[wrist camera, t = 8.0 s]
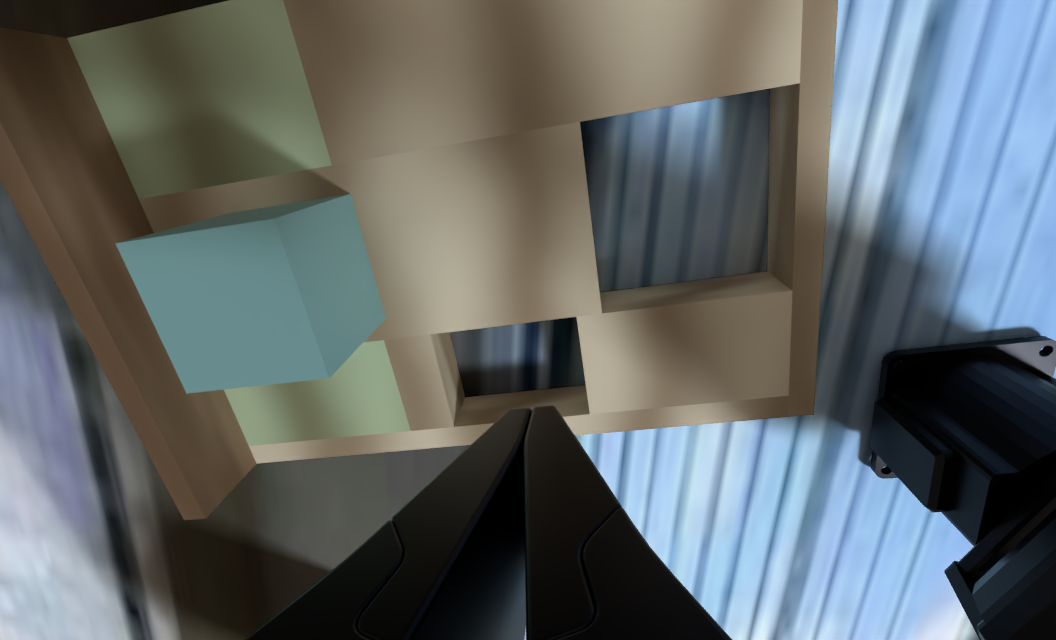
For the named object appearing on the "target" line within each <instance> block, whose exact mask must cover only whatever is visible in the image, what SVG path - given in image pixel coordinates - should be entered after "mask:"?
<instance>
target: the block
mask: <svg viewBox="0 0 1056 640" xmlns="http://www.w3.org/2000/svg"><path fill="white" fill-rule="evenodd" d="M115 244H116V246H117V248H118V250H119V252H120V254H121V256H122V258H123V261H124V263H125V265H126V267H127V269H128V271H129V273H130V275H131V277H132V280H133V282H134V284H135V286H136V288H137V290H138V292H139V294H140V296H141V299H142V301H143V303H144V305H145V307H146V309H147V311H148V313H149V315H150V318H151V320H152V322H153V324H154V326H155V328H156V330H157V332H158V334H159V337H160V339H161V341H162V343H163V345H164V347H165V349H166V351H167V353H168V356H169V358H170V360H171V362H172V364H173V366H174V368H175V370H176V372H177V375H178V377H179V379H180V381H181V383H182V385H183V387H184V389H185V391H186V394H187V393H196V392H206V391H215V390H224V389H234V388H243V387H253V386H262V385H271V384H281V383H290V382H300V381H309V380H318V379H328V378H330V377H331V376H332V375H333V374H334V373H335V372H336V371H337V370H338V369H339V368H340V367H341V365H342V364H343V363H344V362H345V361H346V360H347V359H348V358H349V357H350V356H351V355H352V354H353V353H354V352H355V351H356V350H357V349H358V347H359V346H360V345H361V344H362V343H363V342H364V341H365V340H366V339H367V338H368V337H369V336H370V335H371V334H372V333H373V332H374V330H375V329H376V328H377V327H378V326H379V325H380V324H381V323H382V322H383V321H384V320H385V319H386V317H385V314H384V310H383V307H382V303H381V300H380V296H379V293H378V289H377V286H376V282H375V279H374V275H373V272H372V268H371V265H370V261H369V257H368V254H367V250H366V247H365V243H364V240H363V236H362V233H361V229H360V226H359V222H358V219H357V215H356V212H355V208H354V205H353V201H352V198H351V194H346V195H339V196H333V197H327V198H321V199H315V200H308V201H302V202H296V203H290V204H283V205H277V206H271V207H265V208H258V209H252V210H246V211H240V212H233V213H228V214H224V215H220V216H216V217H213V218H209V219H205V220H201V221H198V222H194V223H190V224H186V225H183V226H179V227H175V228H171V229H168V230H164V231H160V232H156V233H153V234H149V235H145V236H141V237H138V238H134V239H130V240H126V241H123V242H119V243H115Z"/></svg>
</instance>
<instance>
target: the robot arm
mask: <svg viewBox="0 0 1056 640" xmlns="http://www.w3.org/2000/svg"><path fill="white" fill-rule="evenodd" d="M1042 347H1044V348H1043V349H1042V350H1041V351H1040V349H1041V348H1042ZM1039 351H1040V352H1039ZM900 360H901V362H900V364H898V365H897V366H894V364H895V363H896V362H897V361H900ZM1055 367H1056V341H1054V340H1052V339H1050V338H1047V337H1045V336H1036V337H1027V338H1017V339H1007V340H997V341H987V342H978V343H968V344H958V345H948V346H939V347H929V348H919V349H909V350H899V351H893V352H890V353H889V354H887V355H886V356H885V357H884V358H883V361H882V368H881V377H880V385H879V394H878V399H877V400H876V402H875V405H874V414H873V424H872V433H871V442H870V447H871V449H872V456H871V469H872V470H873V471H874V472H875V474H876V475H877V476H878V477H880V478H899V479H900V480H901V481H902V482H903V483H904V484H905V486H906V487H907V488H908V489H909V490H910V491H911V492H912V493H913V494H914V495H915V496H916V498H917V499H918V500H919V501H920V502H921V503H922V504H923V505H924V506H925V507H926V508H927V509H929V510H930V511H931V512H942V513H943V514H944V515H945V516H946V517H947V519H948V520H949V521H950V522H951V523H952V524H953V525H954V526H955V527H956V528H957V529H958V530H959V531H960V532H961V533H962V534H963V535H964V536H965V537H966V539H967V540H968V541H969V542H970V543H971V544H972V545H973V546H974V547H973V548H972V549H971V550H970V551H969V552H968V553H967V554H966V555H965V556H964V557H963V558H962V559H961V560H960V561H959V562H957V561H954V562H953V563H952V564H951V565H950V566H949V567H948V568H947V569H946V570H945V574H946V576H947V578H948V580H949V582H950V583H951V585H952V587H953V589H954V591H955V593H956V595H957V597H958V599H959V601H960V603H961V605H962V607H963V609H964V610H965V612H966V614H967V616H968V618H969V620H970V622H971V624H972V626H973V628H974V630H975V632H976V634H977V635H978V637H979V639H980V640H1056V379H1055V378H1053V375H1054V371H1055ZM884 466H886V467H885V468H883V467H884ZM525 628H526V640H732V639H731V638H730V637H729V636H728V635H727V634H726V632H725V631H724V630H723V629H722V628H721V627H720V626H719V625H718V624H717V622H716V621H715V620H714V619H713V618H712V617H711V616H710V615H709V614H708V612H707V611H706V610H705V609H704V608H703V607H702V606H701V605H700V604H699V602H698V601H697V600H696V599H695V598H694V597H693V596H692V595H691V594H690V592H689V591H688V590H687V589H686V588H685V587H684V586H683V585H682V584H681V583H680V581H679V580H678V579H677V578H676V577H675V576H674V575H673V574H672V572H671V571H670V570H669V569H668V568H667V566H666V565H665V564H664V563H663V562H662V561H661V559H660V558H659V557H658V556H657V555H656V553H655V552H654V551H653V550H652V549H651V547H650V546H649V545H648V543H647V542H646V541H645V539H644V538H643V536H642V535H641V534H640V532H639V531H638V529H637V528H636V527H635V525H634V524H633V522H632V521H631V519H630V518H629V516H628V515H627V513H626V512H625V510H624V509H623V508H622V507H621V505H620V503H619V502H618V500H617V499H616V497H615V496H614V494H613V493H612V491H611V490H610V488H609V486H608V485H607V483H606V482H605V480H604V479H603V477H602V476H601V474H600V473H599V471H598V470H597V468H596V467H595V465H594V464H593V462H592V461H591V459H590V458H589V456H588V455H587V453H586V452H585V450H584V449H583V447H582V446H581V444H580V443H579V441H578V440H577V438H576V437H575V435H574V433H573V432H572V430H571V429H570V427H569V426H568V424H567V423H566V421H565V420H564V418H563V417H562V415H561V414H560V412H559V411H558V409H557V408H556V407H555V406H553V405H550V406H538V407H534V408H533V409H531V408H528V407H526V408H514V409H510V410H508V411H507V412H506V413H505V414H504V415H503V416H502V417H500V418H499V419H498V420H497V421H496V422H495V423H494V424H493V425H492V426H491V427H490V428H489V429H487V430H486V431H485V432H484V433H483V434H482V435H481V436H480V437H479V438H478V439H477V440H476V441H474V442H473V443H472V444H471V445H470V446H469V447H468V448H467V449H466V450H465V451H464V452H463V453H461V454H460V455H459V456H458V457H457V458H456V459H455V460H454V461H453V462H452V463H451V464H450V465H448V466H447V467H446V468H445V469H444V470H443V471H442V472H441V473H440V474H439V475H438V476H437V477H435V478H434V479H433V480H432V481H431V482H430V483H429V484H428V485H427V486H426V487H425V488H424V489H422V490H421V491H420V492H419V493H418V494H417V495H416V496H415V497H414V498H413V499H412V500H411V501H409V502H408V503H407V504H406V505H405V506H404V507H403V508H402V509H401V510H400V511H399V512H398V513H396V514H395V515H394V516H393V517H392V521H391V520H389V521H388V522H386V523H385V524H384V525H383V526H382V527H381V528H380V529H379V530H378V531H377V532H376V533H375V534H373V535H372V536H371V537H370V538H369V539H368V540H367V541H366V542H364V543H363V544H362V545H361V546H360V547H359V548H358V549H356V550H355V551H354V552H353V553H352V554H351V555H350V556H349V557H347V558H346V559H345V560H344V561H343V562H341V563H340V564H339V565H338V566H337V567H335V568H334V569H333V570H332V571H330V572H329V573H328V574H327V575H326V576H324V577H323V578H322V579H321V580H319V581H318V582H317V583H316V584H315V585H313V586H312V587H311V588H310V589H308V590H307V591H306V592H304V593H303V594H302V595H301V596H299V597H298V598H297V599H296V600H294V601H293V602H292V603H290V604H289V605H288V606H287V607H285V608H284V609H283V610H282V611H280V612H279V613H278V614H276V615H275V616H274V617H273V618H271V619H270V620H269V621H268V622H266V623H265V624H264V625H262V626H261V627H260V628H259V629H257V630H256V631H255V632H254V633H252V634H251V635H250V636H249V637H247V638H246V639H245V640H524V635H525Z"/></svg>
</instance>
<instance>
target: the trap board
mask: <svg viewBox="0 0 1056 640" xmlns="http://www.w3.org/2000/svg"><path fill="white" fill-rule="evenodd" d="M837 10H838V0H229V1H224V2H220V3H216V4H211V5H207V6H203V7H198V8H194V9H190V10H186V11H181V12H177V13H173V14H168V15H164V16H160V17H155V18H151V19H147V20H143V21H138V22H134V23H130V24H125V25H121V26H117V27H112V28H108V29H104V30H100V31H95V32H91V33H87V34H82V35H78V36H74V37H69V38H64V37H58V36H52V35H46V34H40V33H34V32H28V31H22V30H16V29H10V28H4V27H0V180H1V182H2V183H3V185H4V187H5V189H6V191H7V193H8V195H9V196H10V198H11V200H12V202H13V204H14V206H15V208H16V209H17V211H18V213H19V215H20V217H21V219H22V221H23V222H24V224H25V226H26V228H27V230H28V232H29V234H30V235H31V237H32V239H33V241H34V243H35V245H36V247H37V248H38V250H39V252H40V254H41V256H42V258H43V259H44V261H45V263H46V265H47V267H48V269H49V271H50V272H51V274H52V276H53V278H54V280H55V282H56V284H57V285H58V287H59V289H60V291H61V293H62V295H63V297H64V298H65V300H66V302H67V304H68V306H69V308H70V310H71V311H72V313H73V315H74V317H75V319H76V321H77V323H78V324H79V326H80V328H81V330H82V332H83V334H84V335H85V337H86V339H87V341H88V343H89V345H90V347H91V348H92V350H93V352H94V354H95V356H96V358H97V360H98V361H99V363H100V365H101V367H102V369H103V371H104V373H105V374H106V376H107V378H108V380H109V382H110V384H111V386H112V387H113V389H114V391H115V393H116V395H117V397H118V399H119V400H120V402H121V404H122V406H123V408H124V410H125V411H126V413H127V415H128V417H129V419H130V421H131V423H132V424H133V426H134V428H135V430H136V432H137V434H138V436H139V437H140V439H141V441H142V443H143V445H144V447H145V449H146V450H147V452H148V454H149V456H150V458H151V460H152V462H153V463H154V465H155V467H156V469H157V471H158V473H159V475H160V476H161V478H162V480H163V482H164V484H165V486H166V487H167V489H168V491H169V493H170V495H171V497H172V499H173V500H174V502H175V504H176V506H177V508H178V510H179V512H180V513H181V515H182V517H183V519H184V520H194V519H206V518H207V517H208V516H209V515H210V513H211V512H212V511H213V510H214V509H215V508H216V507H217V506H218V505H219V504H220V503H221V502H222V500H223V499H224V498H225V497H226V496H227V495H228V494H229V493H230V492H231V491H232V490H233V488H234V487H235V486H236V485H237V484H238V483H239V482H240V481H241V480H242V479H243V478H244V477H245V475H246V474H247V473H248V472H249V471H250V470H251V469H252V468H253V467H254V466H255V465H256V464H257V463H267V462H278V461H290V460H301V459H313V458H324V457H335V456H347V455H358V454H370V453H381V452H392V451H404V450H415V449H427V448H438V447H449V446H461V445H471V444H472V443H473V442H474V441H476V440H477V439H478V438H479V437H480V436H481V435H482V434H483V433H484V432H485V431H486V430H487V429H489V428H490V427H491V426H492V425H493V424H494V423H495V422H496V421H497V420H498V419H499V418H500V417H502V416H503V415H504V414H505V413H506V412H507V411H508V410H510V409H514V408H526V407H528V408H531V409H533V408H534V407H538V406H550V405H553V406H555V407H556V408H557V409H558V411H559V412H560V414H561V415H562V417H563V418H564V420H565V421H566V423H567V424H568V426H569V427H570V429H571V430H572V432H573V433H574V435H586V434H598V433H609V432H620V431H632V430H643V429H654V428H666V427H677V426H689V425H700V424H711V423H723V422H734V421H746V420H757V419H768V418H780V417H791V416H803V415H814V403H815V386H816V369H817V352H818V335H819V318H820V301H821V284H822V267H823V249H824V232H825V215H826V198H827V181H828V164H829V147H830V130H831V113H832V95H833V78H834V61H835V44H836V27H837ZM764 89H770V131H769V194H768V257H767V271H766V272H758V273H751V274H743V275H735V276H727V277H719V278H711V279H703V280H695V281H688V282H680V283H672V284H664V285H656V286H648V287H640V288H632V289H625V290H617V291H609V292H601V293H600V291H599V283H598V274H597V265H596V257H595V248H594V239H593V231H592V222H591V213H590V205H589V196H588V188H587V179H586V170H585V162H584V153H583V144H582V136H581V127H580V122H582V121H587V120H593V119H599V118H605V117H610V116H616V115H622V114H627V113H633V112H639V111H644V110H650V109H656V108H661V107H667V106H673V105H679V104H684V103H690V102H696V101H701V100H707V99H713V98H718V97H724V96H730V95H736V94H741V93H747V92H753V91H758V90H764ZM346 194H351V198H352V201H353V205H354V208H355V212H356V215H357V219H358V222H359V226H360V229H361V233H362V236H363V240H364V243H365V247H366V250H367V254H368V257H369V261H370V265H371V268H372V272H373V275H374V279H375V282H376V286H377V289H378V293H379V296H380V300H381V303H382V307H383V310H384V314H385V317H386V319H385V320H384V321H383V322H382V323H381V324H380V325H379V326H378V327H377V328H376V329H375V330H374V332H373V333H372V334H371V335H370V336H369V337H368V338H367V339H366V340H365V341H364V342H363V343H362V344H361V345H360V346H359V347H358V349H357V350H356V351H355V352H354V353H353V354H352V355H351V356H350V357H349V358H348V359H347V360H346V361H345V362H344V363H343V364H342V365H341V367H340V368H339V369H338V370H337V371H336V372H335V373H334V374H333V375H332V376H331V377H330V378H328V379H318V380H309V381H300V382H290V383H281V384H271V385H262V386H253V387H243V388H234V389H224V390H215V391H206V392H196V393H187V394H186V391H185V389H184V387H183V385H182V383H181V381H180V379H179V377H178V375H177V372H176V370H175V368H174V366H173V364H172V362H171V360H170V358H169V356H168V353H167V351H166V349H165V347H164V345H163V343H162V341H161V339H160V337H159V334H158V332H157V330H156V328H155V326H154V324H153V322H152V320H151V318H150V315H149V313H148V311H147V309H146V307H145V305H144V303H143V301H142V299H141V296H140V294H139V292H138V290H137V288H136V286H135V284H134V282H133V280H132V277H131V275H130V273H129V271H128V269H127V267H126V265H125V263H124V261H123V258H122V256H121V254H120V252H119V250H118V248H117V246H116V244H115V243H119V242H123V241H126V240H130V239H134V238H138V237H141V236H145V235H149V234H153V233H156V232H160V231H164V230H168V229H171V228H175V227H179V226H183V225H186V224H190V223H194V222H198V221H201V220H205V219H209V218H213V217H216V216H220V215H224V214H228V213H233V212H240V211H246V210H252V209H258V208H265V207H271V206H277V205H283V204H290V203H296V202H302V201H308V200H315V199H321V198H327V197H333V196H339V195H346ZM570 317H577V324H578V332H579V339H580V346H581V354H582V361H583V368H584V376H585V383H586V385H582V386H573V387H563V388H553V389H543V390H533V391H523V392H513V393H504V394H494V395H484V396H474V397H465V394H464V390H463V386H462V382H461V378H460V374H459V370H458V365H457V361H456V357H455V353H454V349H453V345H452V341H451V336H450V332H454V331H463V330H471V329H479V328H487V327H496V326H504V325H512V324H520V323H529V322H537V321H545V320H554V319H562V318H570Z"/></svg>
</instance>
